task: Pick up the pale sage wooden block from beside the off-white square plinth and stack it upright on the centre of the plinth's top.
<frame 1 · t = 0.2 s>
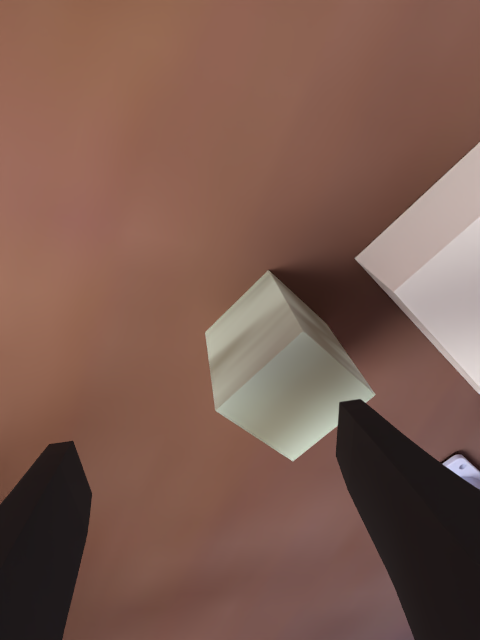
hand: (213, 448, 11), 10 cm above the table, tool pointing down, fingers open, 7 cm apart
sage block: (266, 327, 21), on the table
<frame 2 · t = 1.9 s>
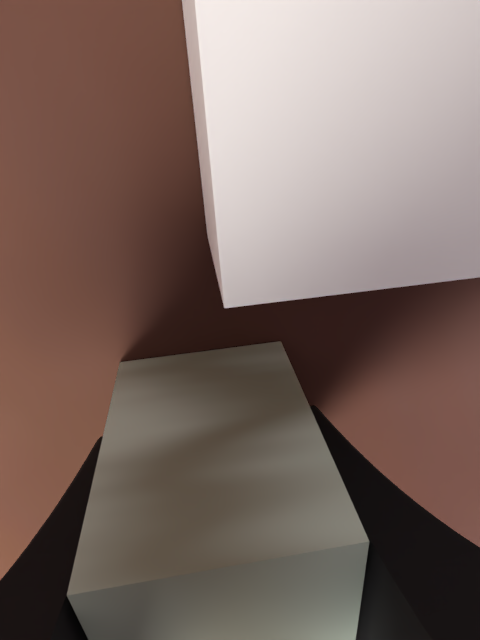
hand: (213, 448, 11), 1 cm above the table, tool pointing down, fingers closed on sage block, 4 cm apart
sage block: (210, 413, 12), on the table, touching gripper
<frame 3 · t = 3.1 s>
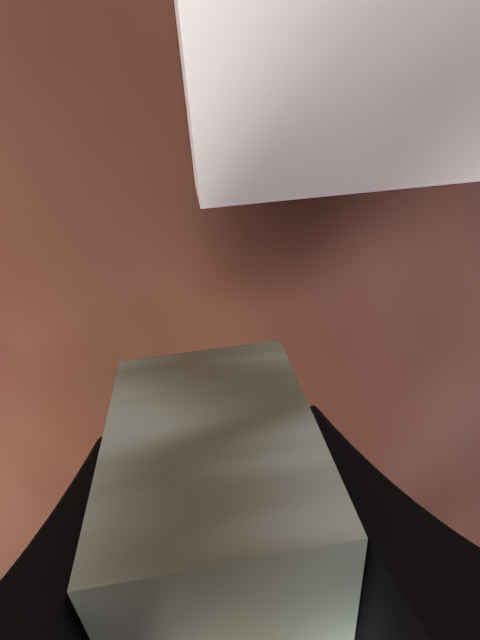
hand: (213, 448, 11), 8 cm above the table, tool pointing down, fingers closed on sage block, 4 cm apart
sage block: (209, 412, 12), point 7 cm above the table, touching gripper
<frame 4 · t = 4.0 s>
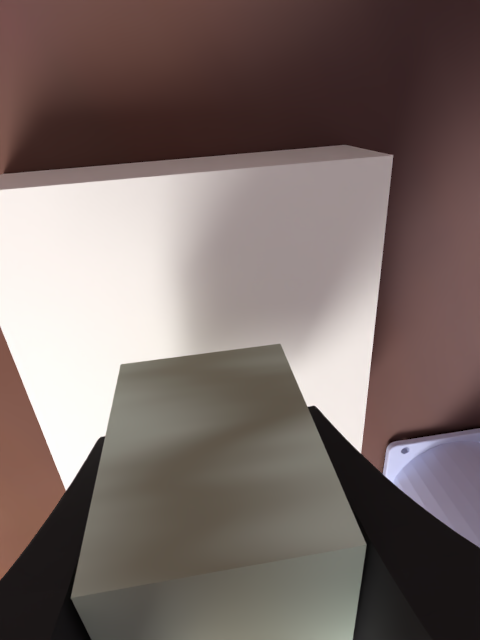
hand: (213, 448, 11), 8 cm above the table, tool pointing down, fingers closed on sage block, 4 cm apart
plinth: (199, 310, 18), on the table
sage block: (209, 414, 12), point 7 cm above the table, touching gripper
when the fingers open (7 cm above the table, at t = 4.8 s): sage block drops 1 cm, resting on plinth.
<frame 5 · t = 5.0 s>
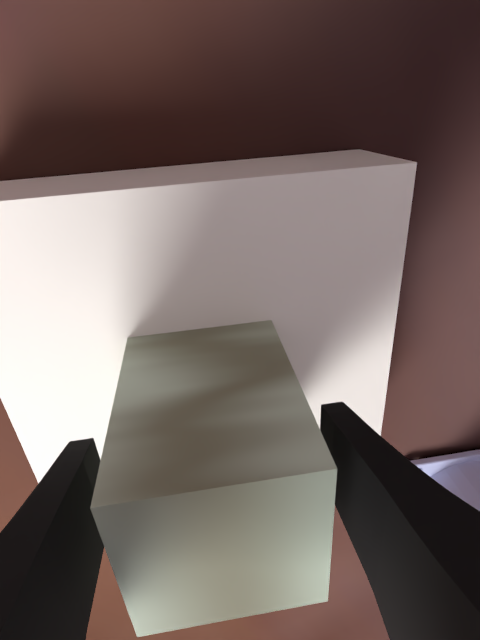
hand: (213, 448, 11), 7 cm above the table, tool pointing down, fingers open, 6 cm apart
plinth: (200, 327, 17), on the table
sage block: (207, 386, 14), point 4 cm above the table, touching plinth
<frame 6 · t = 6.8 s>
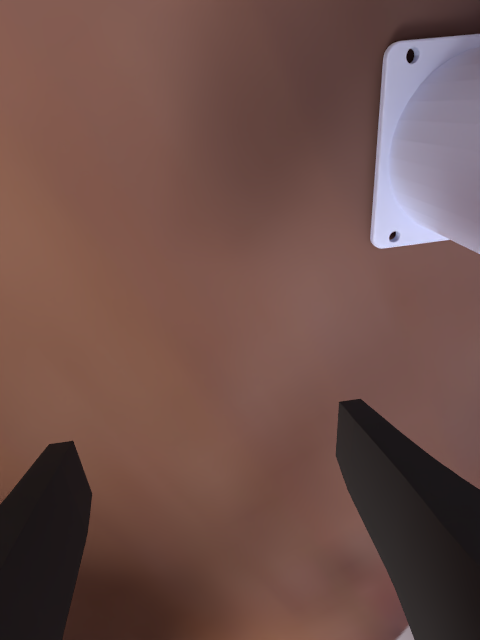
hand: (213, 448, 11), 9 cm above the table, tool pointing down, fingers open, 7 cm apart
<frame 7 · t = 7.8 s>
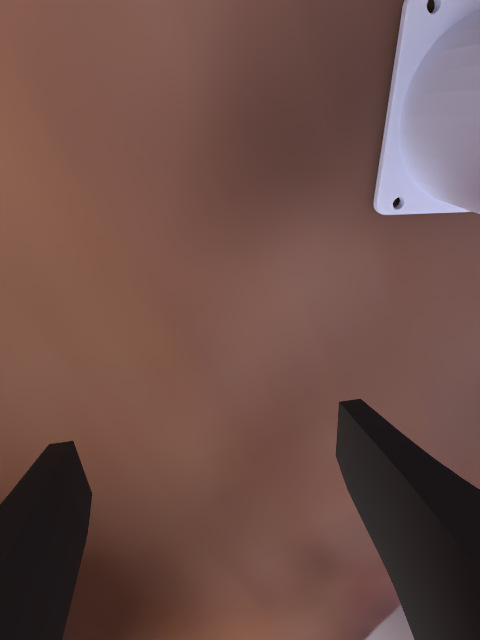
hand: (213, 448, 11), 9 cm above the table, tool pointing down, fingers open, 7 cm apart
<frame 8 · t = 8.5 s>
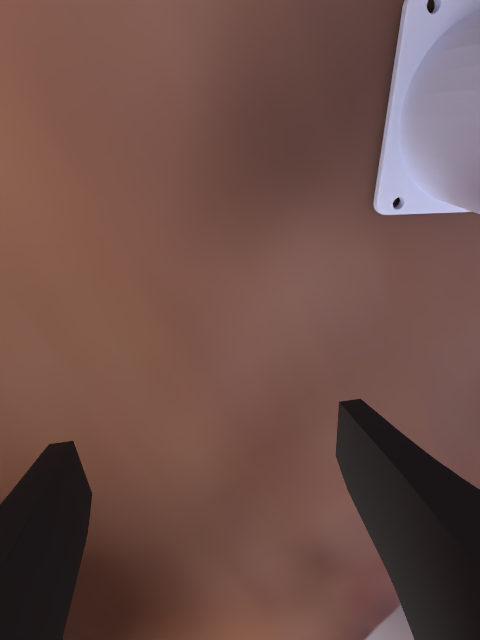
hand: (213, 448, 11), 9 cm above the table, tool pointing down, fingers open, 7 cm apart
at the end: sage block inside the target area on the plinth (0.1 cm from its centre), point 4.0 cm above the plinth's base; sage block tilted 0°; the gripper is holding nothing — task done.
